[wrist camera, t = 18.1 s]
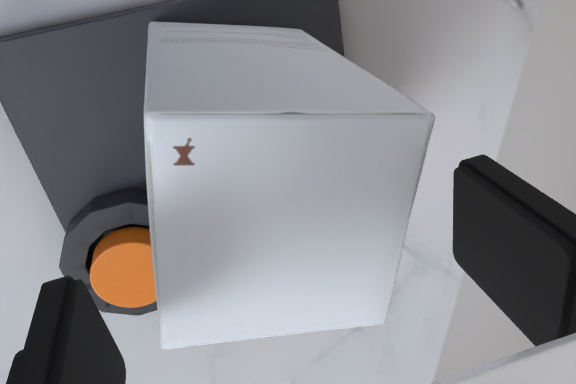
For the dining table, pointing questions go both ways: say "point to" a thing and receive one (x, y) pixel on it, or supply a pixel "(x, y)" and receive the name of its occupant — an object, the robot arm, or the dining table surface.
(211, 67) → the white packaging box
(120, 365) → the robot arm
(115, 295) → the button
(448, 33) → the dining table surface
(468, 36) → the dining table surface
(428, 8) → the dining table surface
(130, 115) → the scale
